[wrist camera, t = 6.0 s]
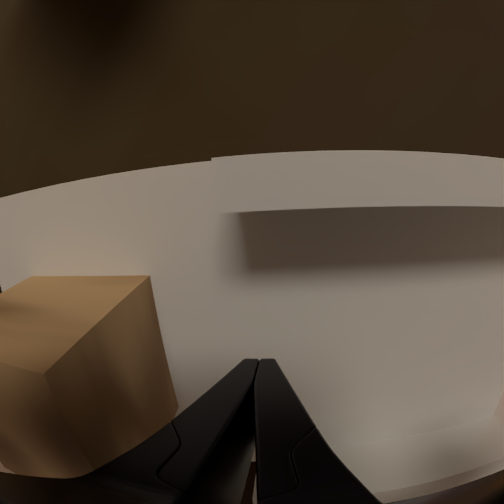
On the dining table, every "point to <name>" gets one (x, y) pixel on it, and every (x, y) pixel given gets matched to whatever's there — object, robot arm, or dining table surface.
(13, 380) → the oak block
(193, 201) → the trap channel
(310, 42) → the dining table surface
